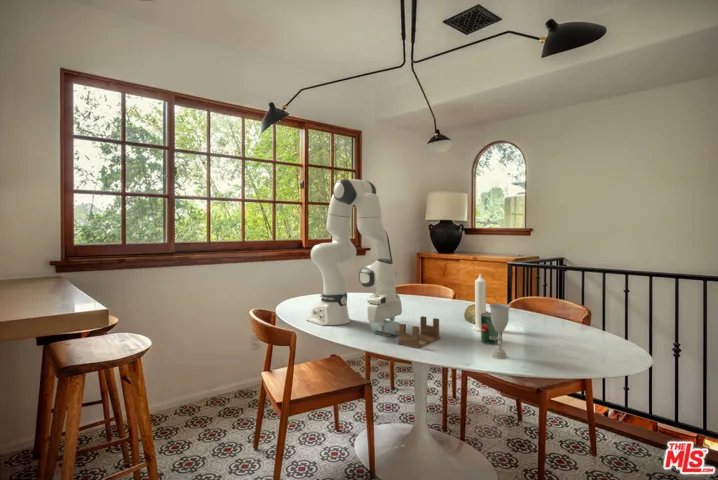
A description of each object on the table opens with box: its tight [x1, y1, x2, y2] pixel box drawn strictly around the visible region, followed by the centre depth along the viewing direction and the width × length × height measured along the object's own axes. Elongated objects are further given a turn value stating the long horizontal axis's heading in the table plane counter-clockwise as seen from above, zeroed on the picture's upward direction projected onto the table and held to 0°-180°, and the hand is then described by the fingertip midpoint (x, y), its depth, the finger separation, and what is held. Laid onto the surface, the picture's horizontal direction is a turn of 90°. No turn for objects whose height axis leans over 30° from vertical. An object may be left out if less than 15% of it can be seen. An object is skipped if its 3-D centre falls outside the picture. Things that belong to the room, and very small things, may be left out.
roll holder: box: [398, 315, 441, 349], centre depth 159 cm, size 17×9×8 cm, turn 139°
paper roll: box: [369, 319, 401, 336], centre depth 170 cm, size 16×6×6 cm, turn 49°
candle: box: [472, 273, 487, 333], centre depth 174 cm, size 7×7×25 cm
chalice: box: [488, 303, 511, 360], centre depth 139 cm, size 7×7×18 cm
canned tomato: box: [480, 311, 503, 346], centre depth 156 cm, size 8×8×11 cm
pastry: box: [463, 303, 488, 325], centre depth 190 cm, size 14×12×8 cm
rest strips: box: [374, 331, 392, 338], centre depth 170 cm, size 8×5×1 cm, turn 49°
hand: (385, 328), depth 170 cm, fingers closed on paper roll, 5 cm apart
